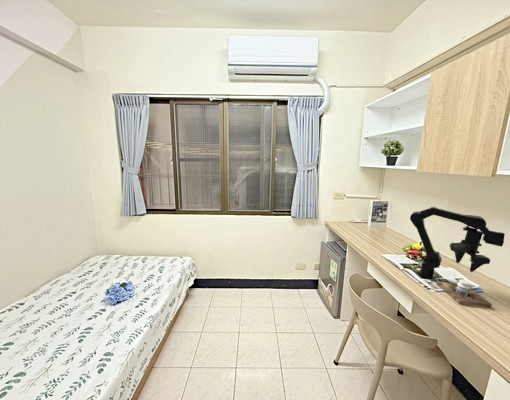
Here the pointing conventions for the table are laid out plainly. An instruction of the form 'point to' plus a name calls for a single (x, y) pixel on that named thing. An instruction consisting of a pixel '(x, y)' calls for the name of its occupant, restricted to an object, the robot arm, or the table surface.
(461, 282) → the pill bottle
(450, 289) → the pin board
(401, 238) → the table surface
